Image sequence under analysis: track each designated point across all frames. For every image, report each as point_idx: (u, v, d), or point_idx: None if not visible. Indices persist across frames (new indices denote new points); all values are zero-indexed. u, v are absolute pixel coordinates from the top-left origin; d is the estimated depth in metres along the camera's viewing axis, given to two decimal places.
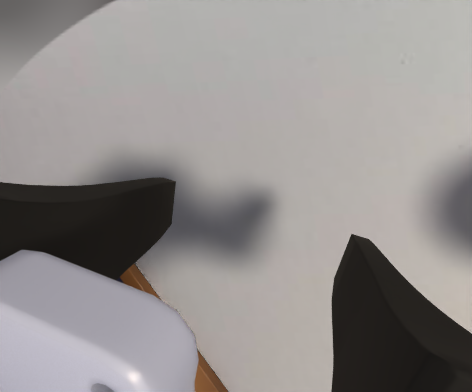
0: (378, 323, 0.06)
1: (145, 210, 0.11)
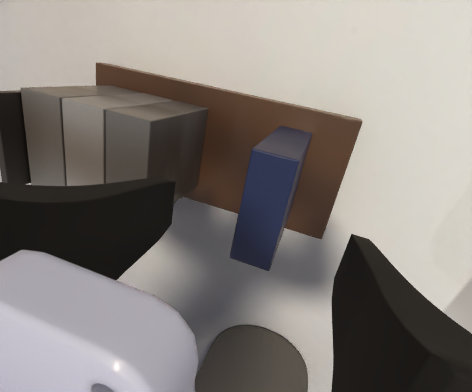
0: (378, 323, 0.06)
1: (145, 210, 0.11)
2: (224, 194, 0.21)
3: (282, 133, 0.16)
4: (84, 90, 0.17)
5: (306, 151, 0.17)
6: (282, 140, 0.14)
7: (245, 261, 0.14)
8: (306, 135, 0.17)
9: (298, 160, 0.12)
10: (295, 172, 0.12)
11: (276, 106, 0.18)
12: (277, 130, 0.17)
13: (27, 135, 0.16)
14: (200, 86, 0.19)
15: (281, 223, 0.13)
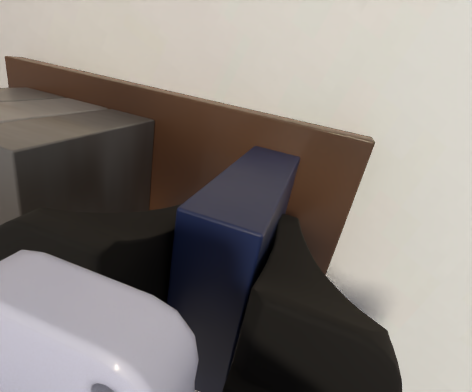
0: None
1: None
2: None
3: (251, 162, 0.10)
4: None
5: (289, 188, 0.11)
6: (246, 179, 0.09)
7: None
8: (290, 163, 0.11)
9: (261, 234, 0.06)
10: (256, 254, 0.06)
11: (248, 118, 0.12)
12: (245, 156, 0.11)
13: None
14: (142, 89, 0.13)
15: (237, 334, 0.07)
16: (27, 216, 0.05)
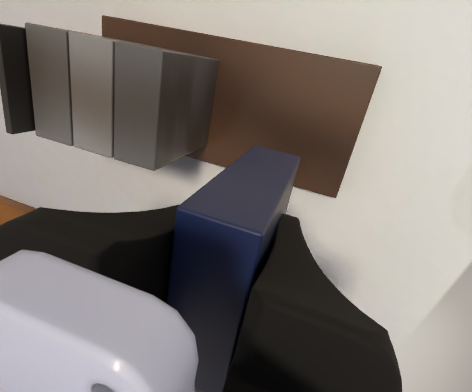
0: None
1: None
2: (234, 153, 0.20)
3: (252, 161, 0.10)
4: (91, 34, 0.16)
5: (289, 188, 0.11)
6: (246, 178, 0.09)
7: None
8: (290, 163, 0.11)
9: (261, 233, 0.06)
10: (256, 254, 0.06)
11: (291, 54, 0.17)
12: (245, 155, 0.11)
13: (31, 76, 0.15)
14: (211, 36, 0.18)
15: (237, 334, 0.07)
16: (27, 216, 0.05)
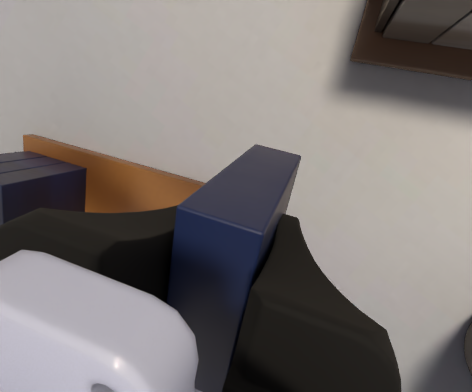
0: None
1: None
2: None
3: (252, 160, 0.10)
4: None
5: (290, 187, 0.11)
6: (246, 177, 0.09)
7: None
8: (290, 162, 0.11)
9: (261, 232, 0.06)
10: (257, 253, 0.06)
11: None
12: (246, 154, 0.11)
13: None
14: None
15: (237, 333, 0.07)
16: (27, 216, 0.05)
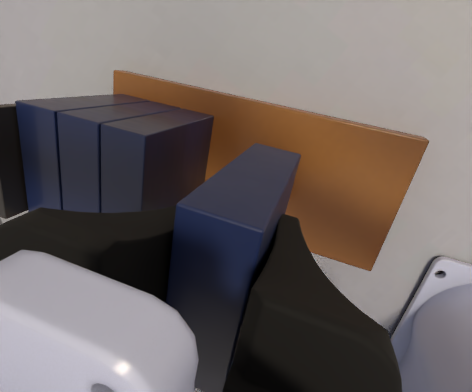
0: None
1: None
2: None
3: (252, 159, 0.10)
4: None
5: (290, 185, 0.11)
6: (246, 175, 0.09)
7: None
8: (290, 160, 0.11)
9: (261, 229, 0.06)
10: (257, 250, 0.06)
11: None
12: (246, 153, 0.11)
13: None
14: None
15: (237, 332, 0.07)
16: (27, 216, 0.05)
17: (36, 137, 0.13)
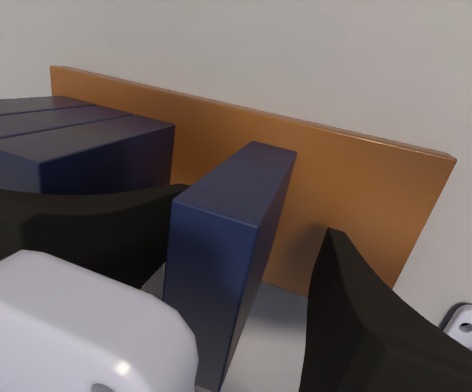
0: (337, 308, 0.06)
1: (167, 218, 0.10)
2: None
3: (248, 156, 0.10)
4: None
5: (286, 182, 0.11)
6: (242, 172, 0.09)
7: None
8: (287, 157, 0.11)
9: (256, 225, 0.06)
10: (252, 246, 0.06)
11: None
12: (242, 150, 0.11)
13: None
14: None
15: (233, 327, 0.07)
16: None
17: None
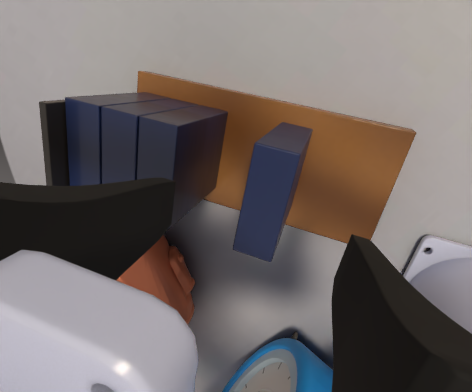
0: (378, 323, 0.06)
1: (145, 210, 0.11)
2: None
3: (283, 129, 0.17)
4: None
5: (307, 146, 0.17)
6: (283, 135, 0.15)
7: (248, 253, 0.15)
8: (307, 131, 0.17)
9: (299, 154, 0.12)
10: (296, 165, 0.12)
11: None
12: (278, 126, 0.17)
13: None
14: None
15: (283, 215, 0.13)
16: None
17: (81, 128, 0.15)
